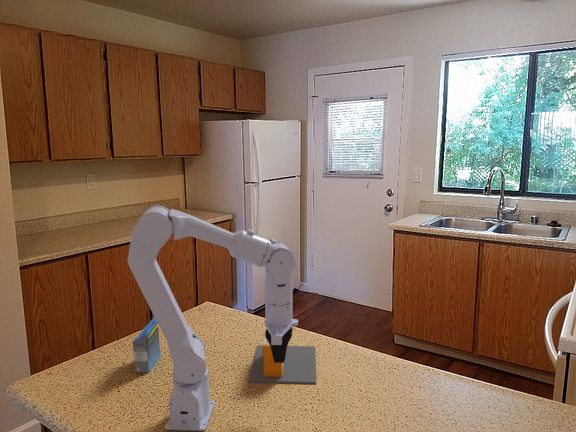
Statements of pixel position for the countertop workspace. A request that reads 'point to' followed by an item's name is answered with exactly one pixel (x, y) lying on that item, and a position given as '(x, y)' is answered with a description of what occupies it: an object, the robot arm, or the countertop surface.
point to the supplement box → (270, 362)
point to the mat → (288, 366)
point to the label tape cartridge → (146, 348)
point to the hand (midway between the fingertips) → (279, 361)
